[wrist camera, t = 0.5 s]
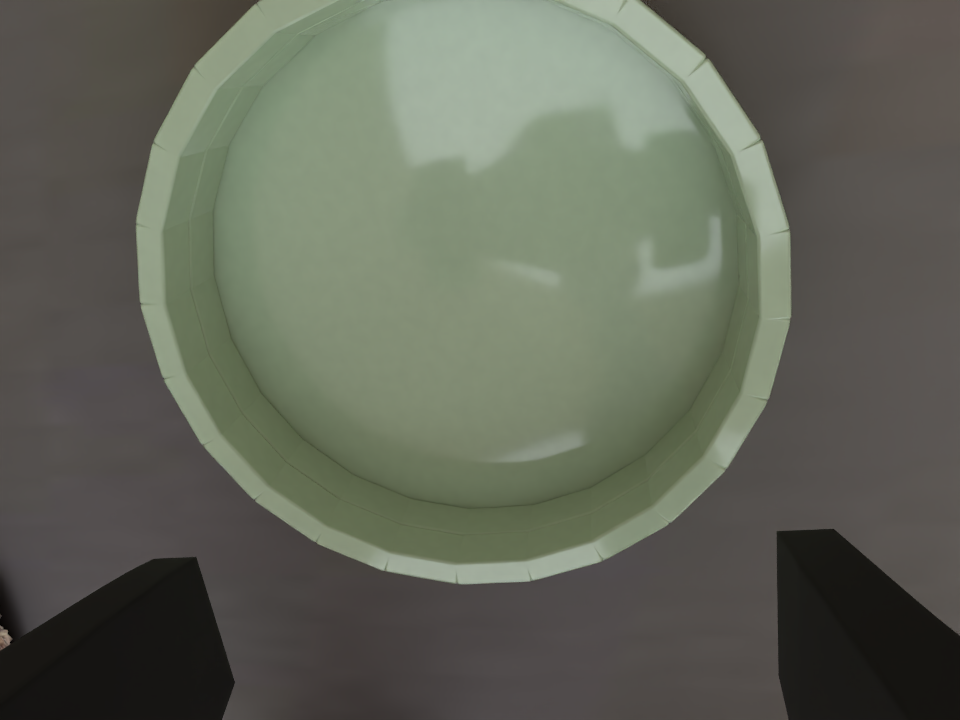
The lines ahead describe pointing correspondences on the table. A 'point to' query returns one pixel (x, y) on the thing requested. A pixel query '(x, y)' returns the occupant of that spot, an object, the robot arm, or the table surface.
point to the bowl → (464, 276)
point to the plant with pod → (4, 637)
